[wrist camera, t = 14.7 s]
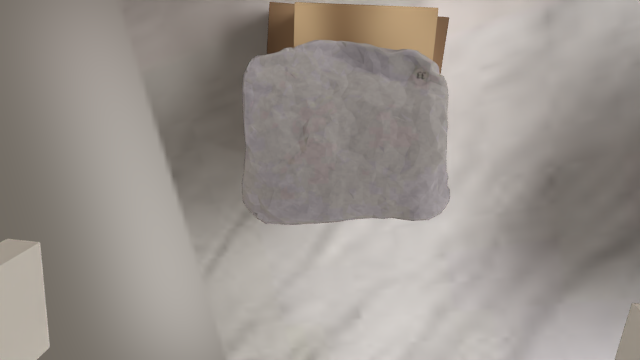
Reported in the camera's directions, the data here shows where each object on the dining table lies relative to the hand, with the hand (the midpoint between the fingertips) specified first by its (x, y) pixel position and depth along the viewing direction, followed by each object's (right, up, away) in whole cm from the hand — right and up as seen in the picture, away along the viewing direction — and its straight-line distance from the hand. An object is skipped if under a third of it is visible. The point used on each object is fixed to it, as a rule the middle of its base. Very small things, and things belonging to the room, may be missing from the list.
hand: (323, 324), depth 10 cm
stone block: (+1, +7, +17) cm, 18 cm away
